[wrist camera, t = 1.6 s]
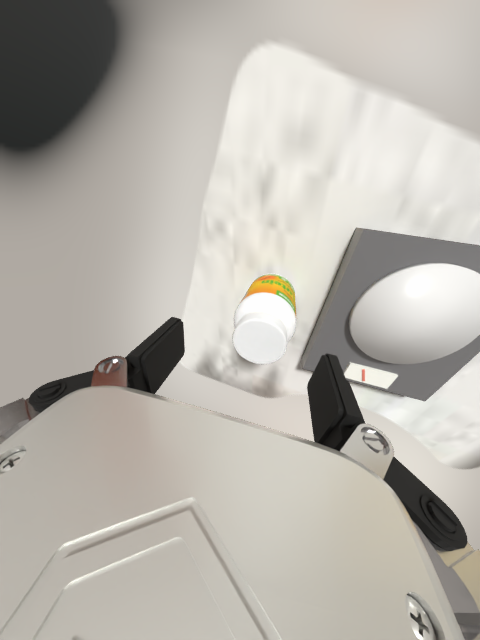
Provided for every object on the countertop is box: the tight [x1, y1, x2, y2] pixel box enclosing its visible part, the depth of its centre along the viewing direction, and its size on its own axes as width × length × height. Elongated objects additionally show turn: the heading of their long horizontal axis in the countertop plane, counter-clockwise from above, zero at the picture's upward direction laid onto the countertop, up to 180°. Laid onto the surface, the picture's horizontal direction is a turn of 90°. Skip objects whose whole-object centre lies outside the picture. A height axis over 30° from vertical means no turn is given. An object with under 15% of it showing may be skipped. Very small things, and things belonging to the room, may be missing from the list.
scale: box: [302, 228, 480, 401], centre depth 18 cm, size 14×16×3 cm
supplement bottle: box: [233, 274, 296, 364], centre depth 17 cm, size 5×5×10 cm
